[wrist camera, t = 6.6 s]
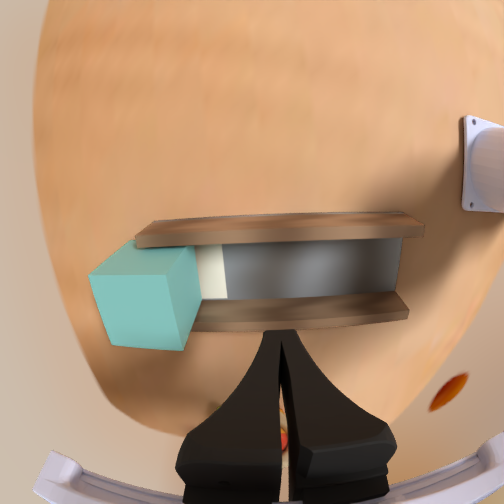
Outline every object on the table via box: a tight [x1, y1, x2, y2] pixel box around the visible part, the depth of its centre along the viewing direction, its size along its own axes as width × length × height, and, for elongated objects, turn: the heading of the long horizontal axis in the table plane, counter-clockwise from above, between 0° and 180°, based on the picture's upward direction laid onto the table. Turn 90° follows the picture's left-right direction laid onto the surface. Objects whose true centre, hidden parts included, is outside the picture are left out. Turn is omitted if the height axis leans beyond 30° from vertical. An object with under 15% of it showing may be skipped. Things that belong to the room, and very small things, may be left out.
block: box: [88, 240, 202, 351], centre depth 17 cm, size 5×5×6 cm
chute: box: [135, 212, 425, 332], centre depth 19 cm, size 19×7×4 cm, turn 93°
